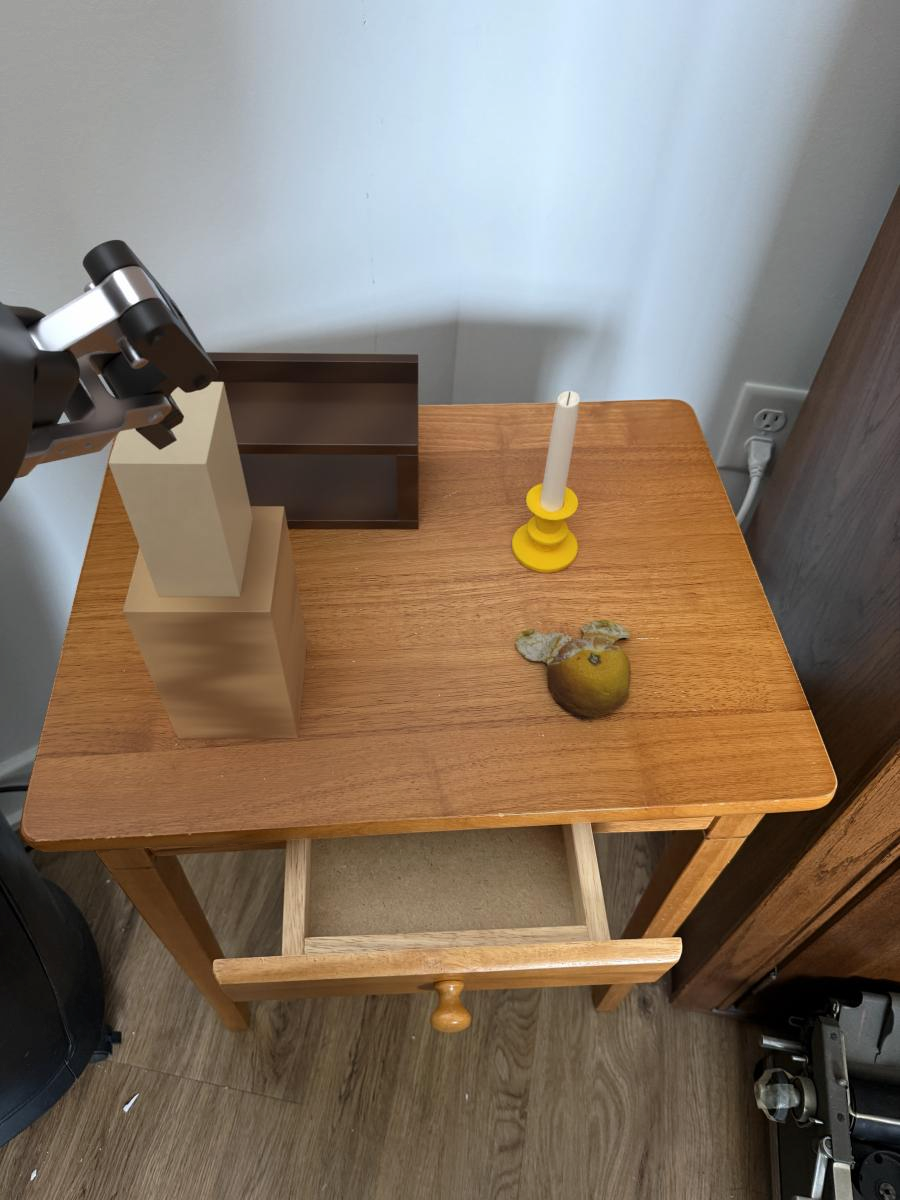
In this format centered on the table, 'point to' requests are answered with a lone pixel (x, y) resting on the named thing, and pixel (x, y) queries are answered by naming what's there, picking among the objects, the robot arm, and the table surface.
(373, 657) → the table surface
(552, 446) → the candle
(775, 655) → the table surface
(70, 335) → the robot arm
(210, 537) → the snack box
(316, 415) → the shelf
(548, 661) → the fruit
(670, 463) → the table surface
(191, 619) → the block
